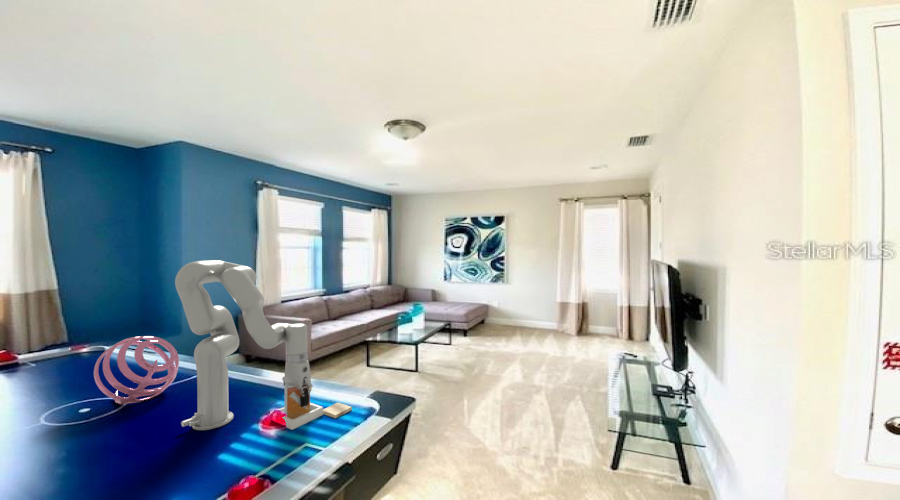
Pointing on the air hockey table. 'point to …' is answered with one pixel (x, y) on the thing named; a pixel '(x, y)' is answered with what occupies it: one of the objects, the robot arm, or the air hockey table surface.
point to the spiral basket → (142, 363)
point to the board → (336, 410)
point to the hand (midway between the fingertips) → (297, 402)
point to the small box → (294, 402)
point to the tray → (303, 416)
